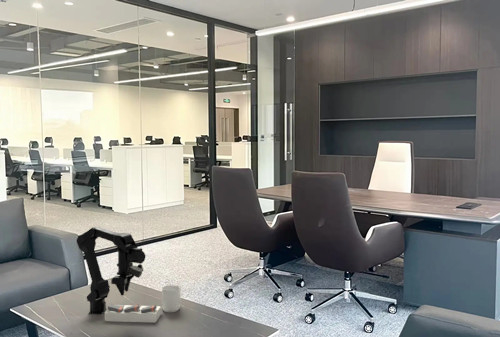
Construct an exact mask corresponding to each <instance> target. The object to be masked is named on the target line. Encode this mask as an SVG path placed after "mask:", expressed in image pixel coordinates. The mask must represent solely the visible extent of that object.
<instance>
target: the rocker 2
mask: <svg viewBox="0 0 500 337" xmlns="http://www.w3.org/2000/svg"><path fill="white" fill-rule="evenodd" d="M139 306H140V304H135V305H132V306H131V307H126V308H125V309H124V312H125V313H128V312H133V311H137V310H138V309H139V308H140V307H139Z"/></svg>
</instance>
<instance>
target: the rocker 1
mask: <svg viewBox="0 0 500 337" xmlns="http://www.w3.org/2000/svg"><path fill="white" fill-rule="evenodd" d="M117 305H118V304H113V303H110V304H109V305H108V307H107V310H111V311H115V312H122V311H123V308H124V307H120V306H117Z"/></svg>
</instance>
